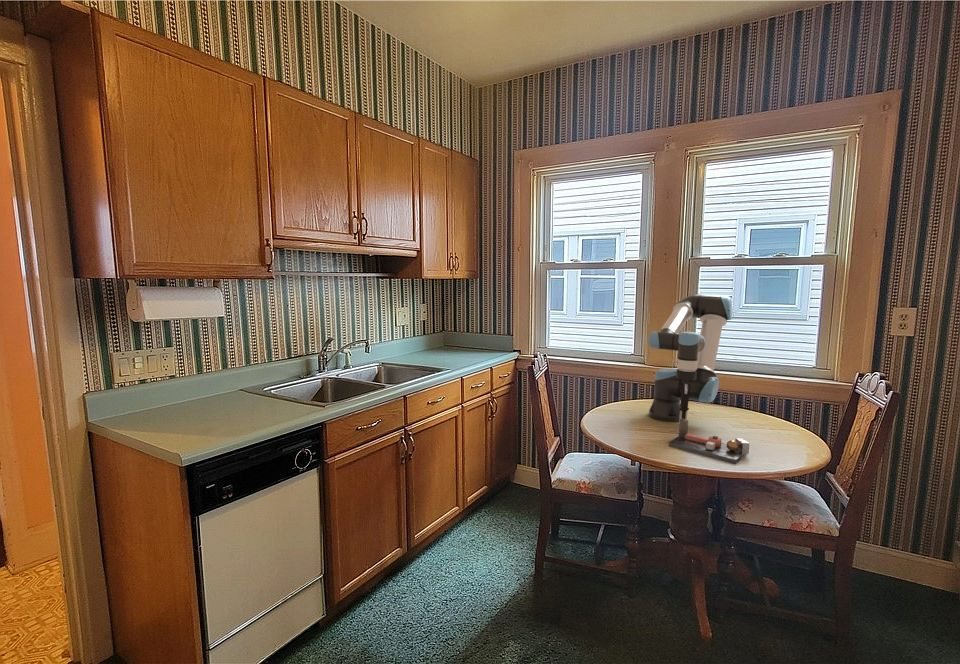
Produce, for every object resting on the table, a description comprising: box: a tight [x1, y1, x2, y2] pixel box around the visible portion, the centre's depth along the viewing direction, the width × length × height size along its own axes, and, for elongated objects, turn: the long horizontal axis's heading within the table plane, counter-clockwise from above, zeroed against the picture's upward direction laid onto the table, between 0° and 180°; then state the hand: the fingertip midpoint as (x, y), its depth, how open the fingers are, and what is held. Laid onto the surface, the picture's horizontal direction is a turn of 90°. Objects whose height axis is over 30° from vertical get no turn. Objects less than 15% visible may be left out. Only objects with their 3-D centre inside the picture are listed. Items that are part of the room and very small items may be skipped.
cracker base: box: [668, 435, 750, 465], centre depth 174 cm, size 26×14×6 cm, turn 45°
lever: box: [678, 418, 722, 450], centre depth 177 cm, size 16×9×7 cm, turn 45°
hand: (682, 425), depth 188 cm, fingers closed
